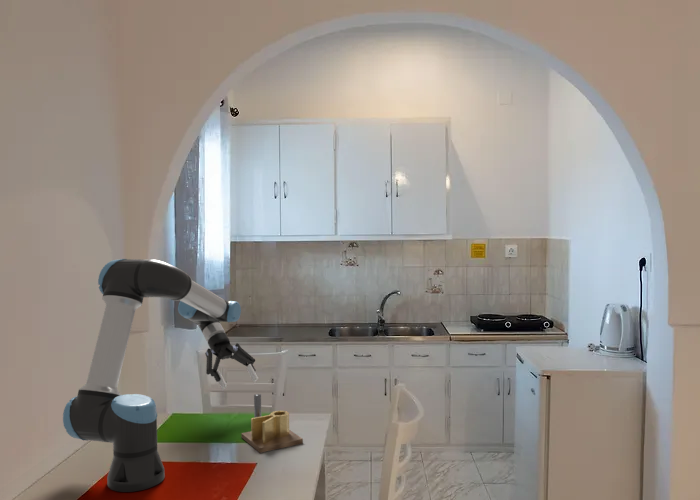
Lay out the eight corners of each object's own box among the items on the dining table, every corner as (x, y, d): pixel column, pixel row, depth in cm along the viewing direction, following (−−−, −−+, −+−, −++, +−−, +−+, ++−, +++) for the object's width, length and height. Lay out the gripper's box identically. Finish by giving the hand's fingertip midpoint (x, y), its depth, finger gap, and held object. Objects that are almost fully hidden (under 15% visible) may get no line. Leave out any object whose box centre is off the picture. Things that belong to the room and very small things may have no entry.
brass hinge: (259, 445, 189) (258, 423, 189) (248, 437, 196) (248, 416, 196) (295, 437, 195) (295, 416, 195) (284, 430, 203) (283, 409, 203)
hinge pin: (256, 430, 207) (255, 396, 207) (253, 428, 209) (252, 394, 209) (262, 429, 209) (262, 395, 208) (260, 427, 211) (259, 393, 210)
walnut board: (259, 452, 187) (259, 448, 187) (241, 437, 201) (241, 433, 201) (302, 443, 195) (302, 438, 194) (282, 429, 208) (282, 424, 208)
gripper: (239, 338, 236) (264, 383, 227) (183, 348, 218) (206, 397, 209) (247, 327, 232) (272, 371, 223) (190, 336, 214) (215, 385, 205)
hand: (240, 384), depth 216 cm, fingers open, 13 cm apart
